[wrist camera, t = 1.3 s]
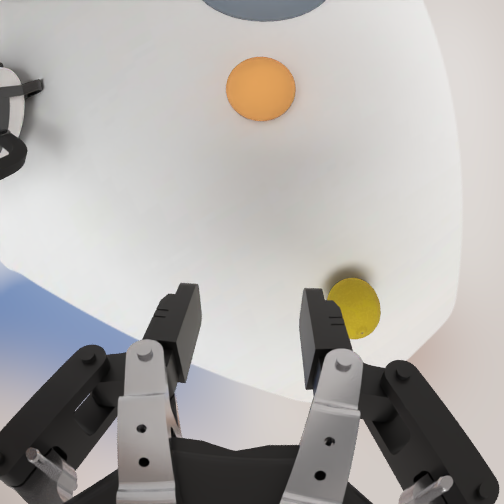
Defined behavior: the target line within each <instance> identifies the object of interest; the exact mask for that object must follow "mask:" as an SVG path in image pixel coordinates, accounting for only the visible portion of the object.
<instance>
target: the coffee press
mask: <svg viewBox="0 0 504 504" xmlns="http://www.w3.org/2000/svg"><path fill="white" fill-rule="evenodd" d="M41 91H42V86H41V81H40V79H38V80H34V81H31V82H28V83H26V84H22V85H21V82H20V80H19V78H18V77H17V75H16V74H15V73H14V72H13V71H12V70H10V69H8V68H4V67H3V64H2V63H0V180H1V179H3V178H5V177H7V176H9V175H11V174H13V173H15V172H16V171H18V170H19V169H20V168H21V167H22V166H23V165H24V163H25V159H26V155H27V147H26V145H25V144H24V143H23V142H22V141H21V140H20V139H19V138H18V137H19V134H20V131H21V127H22V123H23V118H24V106H25V104H24V100H25V99H26V98H28V97H31V96H33V95H35V94H37V93H39V92H41Z"/></svg>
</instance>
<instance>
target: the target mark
mask: <svg viewBox="0 0 504 504" xmlns="http://www.w3.org/2000/svg"><path fill="white" fill-rule="evenodd" d="M203 1H204V2H205V3H206V4H208V5H209V6H211V7H212V8H214V9H215V10H217V11H219V12H221V13H223V14H226V15H229V16H232V17H236V18H240V19H245V20H251V21H277V20H285V19H289V18H294V17H297V16H300V15H303V14H305V13H307V12H310V11H311V10H313V9H315V8H316V7H318V6H319V5H320V4H322V3H323V2H324V1H325V0H203Z"/></svg>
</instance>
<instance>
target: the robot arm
mask: <svg viewBox="0 0 504 504" xmlns="http://www.w3.org/2000/svg"><path fill="white" fill-rule="evenodd" d="M201 319H202V313H201V303H200V294H199V286H198V284H189V283H180V285H179V287H178V289H177V292H176V294H168V295H166V296H165V297H164V298H163V299H162V300H161V301H160V303H159V305H158V307H157V310H156V311H155V313H154V317H152V320H151V322H150V324H149V326H148V328H147V330H146V333H145V335H144V337H143V339H142V340H140V341H137V342H135V343H133V344H132V345H131V346H130V347H129V348H128V350H127V352H125V353H119V354H110V355H106V353H105V351H104V349H103V348H102V347H100V346H97V345H87V346H84V347H82V348H80V349H79V350H78V351H77V352H75V353H74V354H73V356H71V357H70V358H69V359H68V361H66V362H65V363H64V364H63V365H62V367H60V368H59V369H58V371H57V372H56V373H55V374H54V375H53V376H52V377H51V378H50V379H49V380H48V381H47V382H46V383H45V384H44V385H43V386H42V387H41V388H40V389H39V390H38V391H37V392H36V393H35V394H34V395H33V397H31V399H30V400H29V401H28V402H27V403H26V404H25V405H24V406H23V407H22V408H21V410H20V411H19V412H18V413H17V414H16V415H15V416H14V417H13V418H12V419H11V420H10V421H9V423H8V424H7V425H6V426H5V427H4V428H3V429H2V430H1V431H0V480H2V481H3V482H4V483H5V484H6V485H7V486H9V487H11V488H12V489H14V490H15V491H17V492H18V493H19V495H20V496H21V497H22V498H23V499H24V500H25V501H26V502H27V503H28V504H373V503H372V502H370V501H369V500H368V499H367V498H366V497H365V496H364V495H362V494H361V493H360V492H359V491H358V490H357V489H356V488H355V487H353V486H352V485H351V484H350V483H349V482H348V478H349V474H350V469H351V464H352V460H353V455H354V450H355V444H356V439H357V433H358V427H359V421H360V419H363V420H364V421H365V423H366V425H367V427H368V429H369V430H370V432H371V434H372V436H373V437H374V439H375V441H376V443H377V445H378V446H379V448H380V450H381V451H382V453H383V455H384V457H385V459H386V460H387V462H388V464H389V466H390V467H391V469H392V471H393V473H394V475H395V476H396V478H397V480H398V482H399V483H400V485H401V487H402V489H403V493H402V494H401V496H400V498H399V504H494V503H495V501H496V500H497V497H498V494H499V484H498V481H497V479H496V477H495V476H494V474H493V473H492V471H491V470H490V468H489V467H488V465H487V464H486V462H485V461H484V459H483V458H482V456H481V455H480V453H479V452H478V450H477V449H476V447H475V446H474V445H473V443H472V442H471V440H470V439H469V437H468V436H467V435H466V433H465V432H464V430H463V429H462V428H461V426H460V425H459V423H458V422H457V421H456V420H455V418H454V417H453V415H452V414H451V412H450V411H449V410H448V408H447V407H446V406H445V404H444V403H443V402H442V401H441V399H440V398H439V396H438V395H437V394H436V393H435V391H434V390H433V389H432V387H431V386H430V385H429V383H428V382H427V381H426V379H425V378H424V377H423V376H422V374H421V373H420V372H419V370H418V369H417V368H416V367H415V366H414V365H413V364H411V363H409V362H407V361H403V360H395V361H392V362H390V363H389V364H388V365H387V366H386V368H381V367H376V366H371V365H368V364H365V363H363V361H362V359H361V358H360V356H359V355H358V354H357V353H355V352H353V350H352V346H351V343H350V339H349V336H348V332H347V329H346V326H345V322H344V319H343V316H342V312H341V309H340V307H339V306H338V305H337V304H336V303H335V302H334V301H333V300H325V299H324V295H323V292H322V289H316V288H304V290H303V297H302V304H301V311H300V319H299V331H300V340H301V349H302V358H303V368H304V378H305V388H306V390H309V389H313V394H314V398H313V401H312V404H311V408H310V411H309V415H308V418H307V421H306V424H305V428H304V431H303V434H302V437H301V440H300V443H299V445H267V446H262V447H257V448H251V449H245V450H239V451H233V450H229V449H226V448H223V447H220V446H216V445H213V444H210V443H208V442H205V441H200V440H193V439H185V438H182V434H181V428H180V421H179V414H178V406H177V398H176V393H175V389H176V386H177V382H181V383H186V380H187V375H188V372H189V368H190V364H191V360H192V356H193V353H194V349H195V345H196V341H197V337H198V334H199V330H200V326H201ZM89 393H90V395H89ZM88 395H89V396H88ZM87 396H88V397H87ZM86 397H87V399H86V400H85V401H84V402H83V403H82V401H83V400H84V399H85V398H86ZM81 403H82V404H81ZM80 404H81V405H80ZM79 405H80V406H79ZM78 406H79V408H78V409H77V410H76V408H77V407H78ZM75 410H76V411H75ZM116 417H118V419H117V420H118V421H117V422H118V424H117V443H118V444H117V449H118V469H117V470H115V471H114V472H112V473H111V474H109V475H108V476H106V477H105V478H104V479H102V480H100V481H98V482H97V483H96V484H94V485H92V486H91V487H89V488H87V489H86V490H84V491H83V492H81V493H79V494H78V495H76V496H74V497H72V494H73V491H74V490H76V488H77V475H76V472H75V471H76V469H77V468H78V467H79V465H80V464H81V463H82V462H83V460H84V459H85V458H86V456H87V455H88V454H89V452H90V451H91V450H92V448H93V447H94V446H95V444H96V443H97V442H98V441H99V439H100V438H101V437H102V435H103V434H104V433H105V432H106V430H107V429H108V427H109V426H110V425H111V424H112V422H113V421H114V420H115V418H116Z"/></svg>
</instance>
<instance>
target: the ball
mask: <svg viewBox="0 0 504 504" xmlns="http://www.w3.org/2000/svg"><path fill="white" fill-rule="evenodd" d="M226 93H227V98H228V100H229V102H230V104H231V106H232V107H233V108H234V110H235V111H236V112H238V113H239V114H240V115H242V116H243V117H245V118H248V119H251V120H255V121H267V120H272V119H275V118H277V117H279V116H280V115H282V114H283V113H285V112H286V111H287V110H288V108H289V107H290V106H291V104H292V102H293V100H294V97H295V81H294V78H293V76H292V74H291V73H290V71H289V70H288V69H287V68H286V67H285V66H284V65H283V64H282V63H280V62H279V61H277V60H274V59H271V58H267V57H254V58H250V59H247V60H245V61H243V62H241V63H239V64H238V65H237V66H236V67H235V68H234V69H233V70H232V72H231V73H230V75H229V77H228V80H227V84H226Z"/></svg>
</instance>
